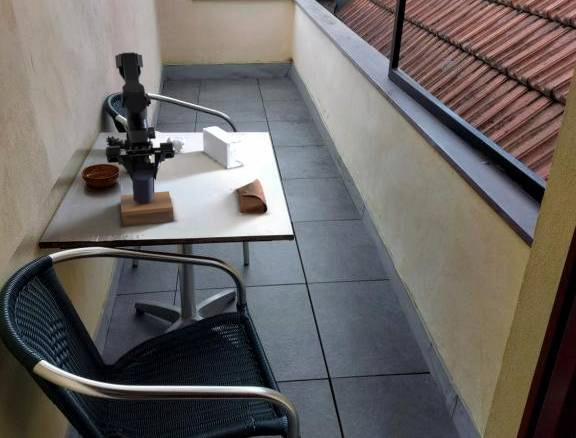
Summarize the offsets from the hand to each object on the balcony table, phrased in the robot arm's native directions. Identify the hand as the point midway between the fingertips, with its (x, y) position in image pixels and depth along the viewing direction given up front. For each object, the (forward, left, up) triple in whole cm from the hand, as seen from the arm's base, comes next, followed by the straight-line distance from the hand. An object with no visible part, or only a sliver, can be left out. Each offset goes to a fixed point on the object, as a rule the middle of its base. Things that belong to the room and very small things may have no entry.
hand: (144, 180), depth 153 cm
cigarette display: (-2, +50, -12) cm, 52 cm away
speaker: (-1, +1, -7) cm, 7 cm away
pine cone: (-37, +41, -9) cm, 56 cm away
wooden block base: (-2, +3, -11) cm, 12 cm away
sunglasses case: (+23, +22, -12) cm, 34 cm away
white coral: (-19, +49, -8) cm, 54 cm away
